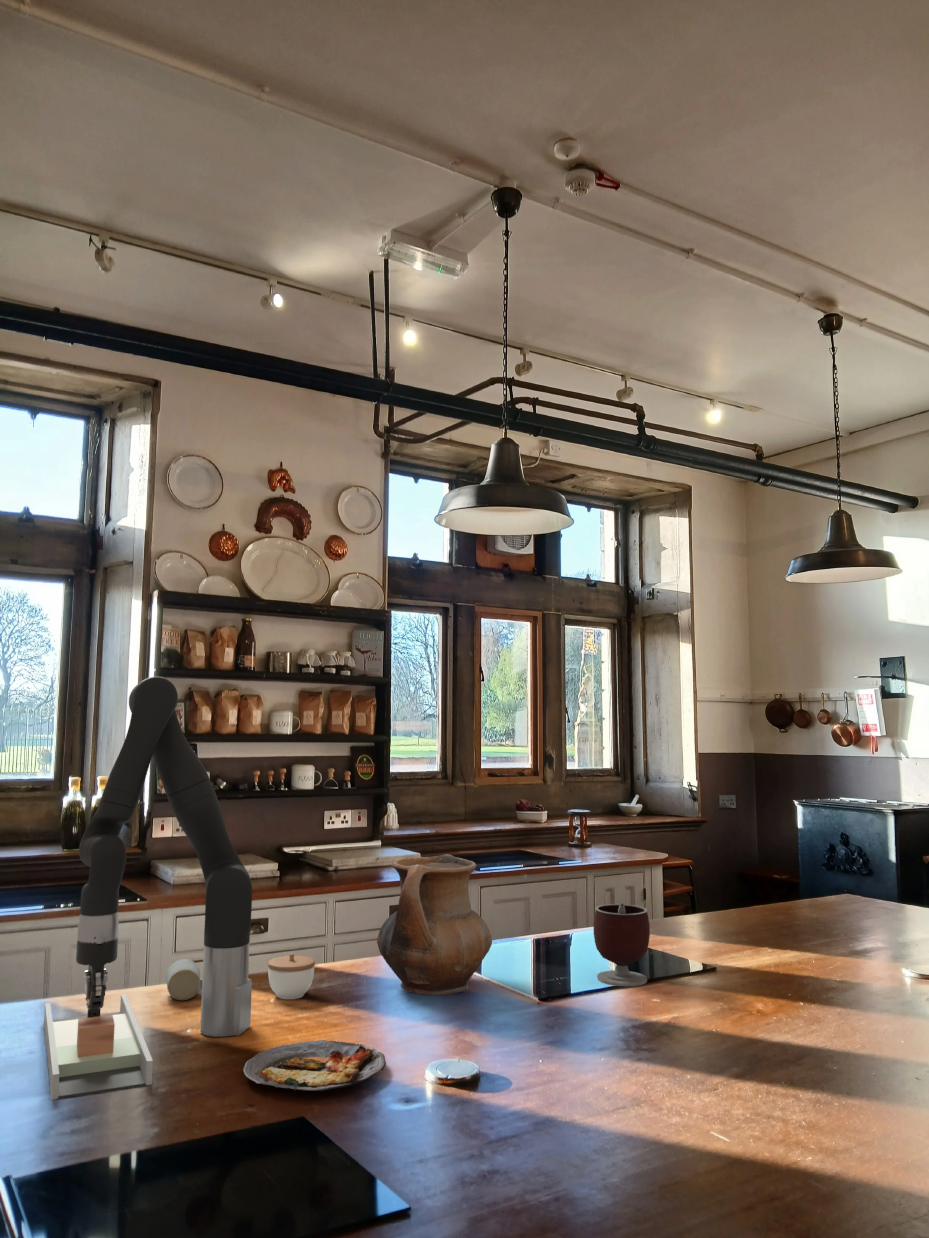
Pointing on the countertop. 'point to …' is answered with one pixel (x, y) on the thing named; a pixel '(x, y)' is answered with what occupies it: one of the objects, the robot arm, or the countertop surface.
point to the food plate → (315, 1065)
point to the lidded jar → (291, 975)
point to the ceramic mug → (183, 979)
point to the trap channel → (96, 1082)
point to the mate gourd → (621, 941)
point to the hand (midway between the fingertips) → (93, 1028)
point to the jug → (434, 927)
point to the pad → (98, 1058)
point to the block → (95, 1036)
